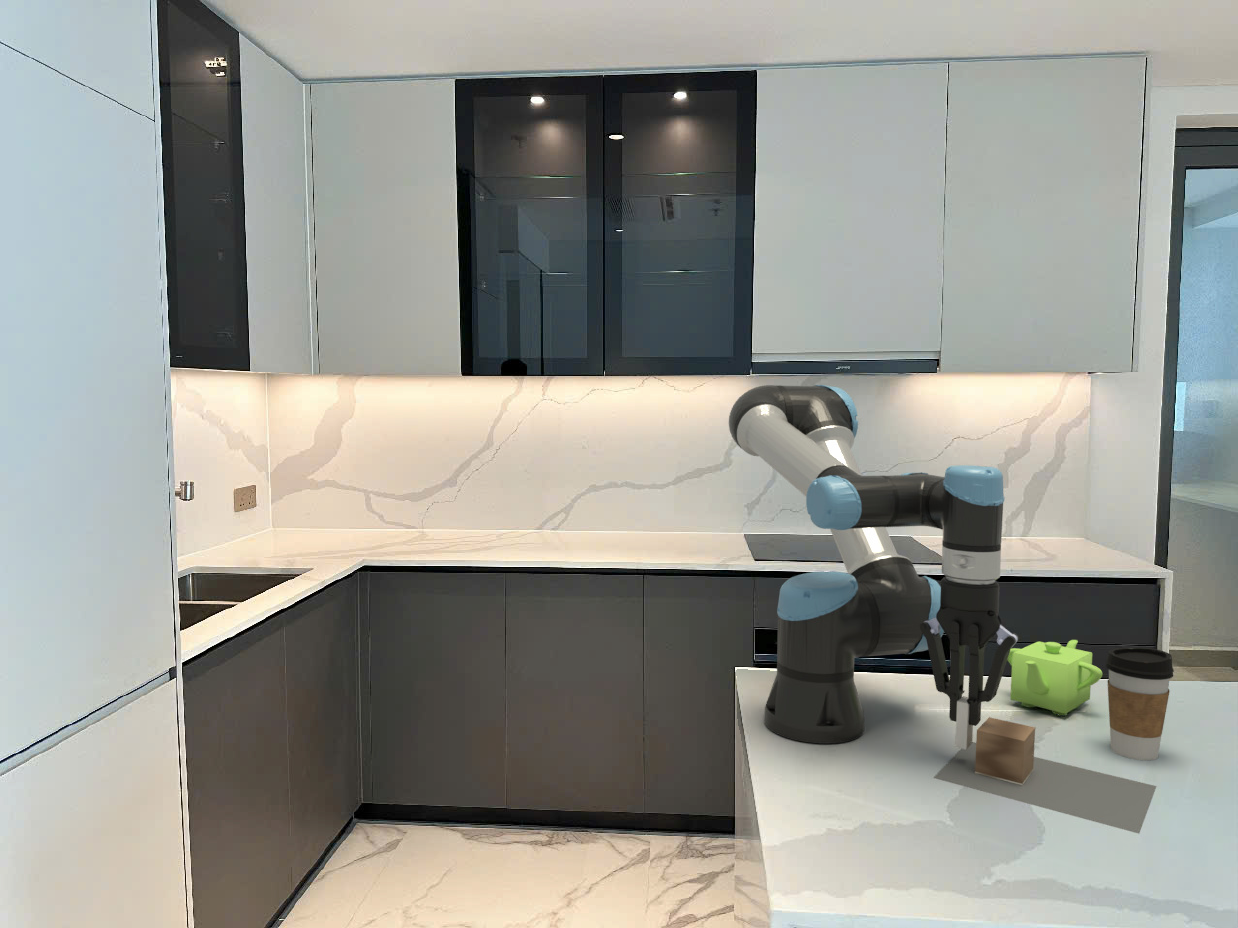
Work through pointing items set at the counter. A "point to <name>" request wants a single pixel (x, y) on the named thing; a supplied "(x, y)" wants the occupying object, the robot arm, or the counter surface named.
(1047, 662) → the teapot
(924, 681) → the counter surface
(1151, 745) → the coffee cup
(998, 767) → the walnut cube
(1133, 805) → the rubber mat
